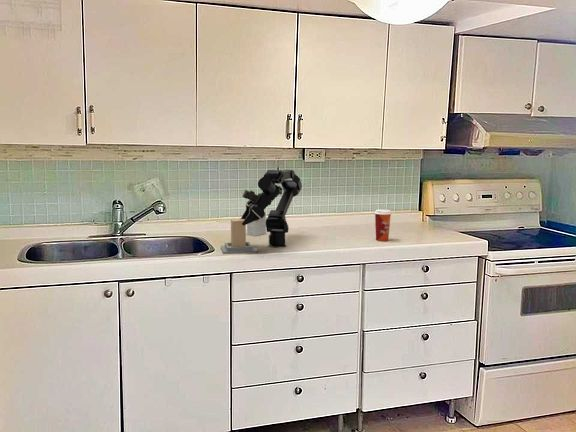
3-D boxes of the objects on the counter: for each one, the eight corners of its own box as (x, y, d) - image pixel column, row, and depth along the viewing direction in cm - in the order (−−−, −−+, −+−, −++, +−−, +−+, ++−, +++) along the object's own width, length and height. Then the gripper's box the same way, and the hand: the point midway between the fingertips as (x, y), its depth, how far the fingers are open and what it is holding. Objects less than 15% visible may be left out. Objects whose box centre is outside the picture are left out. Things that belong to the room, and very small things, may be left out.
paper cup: (384, 242, 257) (385, 212, 255) (370, 240, 262) (371, 210, 260) (393, 240, 262) (394, 210, 260) (379, 238, 268) (380, 208, 265)
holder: (252, 246, 247) (252, 241, 246) (256, 252, 235) (256, 247, 235) (220, 247, 244) (220, 242, 244) (223, 253, 232) (223, 248, 232)
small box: (257, 232, 280) (257, 211, 278) (266, 234, 276) (266, 212, 275) (246, 235, 274) (246, 213, 272) (255, 236, 270) (255, 214, 269)
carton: (243, 246, 243) (243, 218, 241) (245, 249, 237) (245, 220, 236) (231, 247, 241) (230, 219, 240) (232, 249, 236) (232, 221, 234)
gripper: (251, 181, 246) (226, 207, 245) (256, 185, 228) (229, 213, 227) (269, 199, 249) (244, 224, 248) (276, 204, 230) (249, 231, 230)
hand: (241, 223), depth 238 cm, fingers open, 9 cm apart
